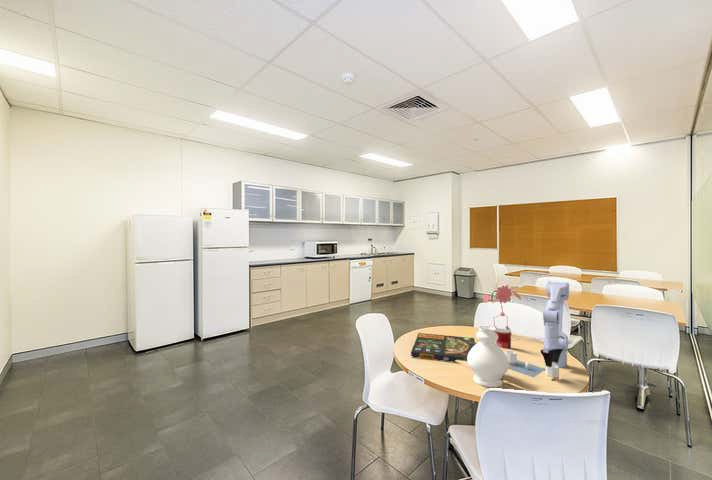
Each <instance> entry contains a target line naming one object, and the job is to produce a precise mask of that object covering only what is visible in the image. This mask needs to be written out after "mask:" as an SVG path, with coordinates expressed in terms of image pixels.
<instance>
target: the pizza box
mask: <svg viewBox="0 0 712 480" xmlns="http://www.w3.org/2000/svg"><path fill="white" fill-rule="evenodd" d="M475 341H476V340H475V338H474V337H468V336H467V337H466V336H455V335H443V334H432V333H421V332H418V334H417V336H416V339H415V341H414V343H413V345H412V349H411V351H410V357H411V356H413V357H412V358H414V357H421V358H420V359H423V358H429V359H428V360H432V359H437V360H436V361H440V360H445V361H444V362H449V361H453V362H452V363H457V361H466V362H468V361H467V356H468V353H469V351H470V350H471V349H472V347H473V346H474V345H476V342H475Z"/></svg>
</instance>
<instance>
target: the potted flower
mask: <svg viewBox="0 0 712 480" xmlns="http://www.w3.org/2000/svg"><path fill="white" fill-rule="evenodd" d="M496 290H497V291H496V293H495V301H493V300H492V299H491V298H490V296H489V295H488V294H487V293H485V294H484V295H483V296H482V300H483V302H484V303H485V304H487V303H488V302H489V301H490V302H491V303H492V304H494V303H496V302H499V304H500V306H501V307H500V308H501V312H500V314H499V315H497V316H495V317H493V319H495V318H498V317H500V316H501V317H506V325H505V329H508V330H510V331H511V332H512V330H511V329H510V327H509V325H508V324H509V323H508V321H509V320H508V316H507V315H506V314H505V313H504V311H503V305H502V303H504V304H506V303H507V302H508V301H511V300H512V298H511V296H512V295H514V296H515V297H516V298H518V299H519V300H522V297H521V295H520V294H518V293H517V292H516V291H515V290H512V288H509V285H508V284H506V285H501V287H500V286H498V287H497V288H496ZM493 327H495V328H496V329H498V328H497V326H496V323H495V320H493ZM494 332H495V333H496V331H494ZM511 336H512V333H511ZM518 340H520V338H518Z"/></svg>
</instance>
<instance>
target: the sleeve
mask: <svg viewBox="0 0 712 480" xmlns="http://www.w3.org/2000/svg"><path fill="white" fill-rule="evenodd" d="M544 369H545V370H544V371H545V375H546V376H547V377H550V378H552V379H550V381H555V382H558V381H559V380H560V368H559V367H558V366H557V365H555V364H552V367H548V366H546V364H545V368H544Z"/></svg>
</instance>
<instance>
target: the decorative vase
mask: <svg viewBox="0 0 712 480" xmlns="http://www.w3.org/2000/svg"><path fill="white" fill-rule="evenodd" d="M495 327H496V326H495ZM495 327H494V325H486V324H484V325H483V324H481V325H478V329H479V331H477V332H476V338H477V339H478V340H479V341H478V342H477V343H475V345H474V346H473V347H472V349H471V350H470V351H469V353H468V356H467V361H466V362H467V365H468V367H469V368H470V369H471V371H472V372H473V373H474V375H473V381H474V382H475V383H476V384H477V385H480V386H483V387H488V388H498V386H499V387H501V386H502V385H503V380H502V379H501V378H502V377H503V376H504V375H505V374H506V373H507V372H508V370H509V369H508V368H509V362H508V359H507V357H506V355H505V351H504V350H502V348H501V347H499V346H498V345H497V344H496V341H497V340H498V335H497V334H496V333H495V332H494V331H496V328H497V327H496V328H495Z"/></svg>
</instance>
